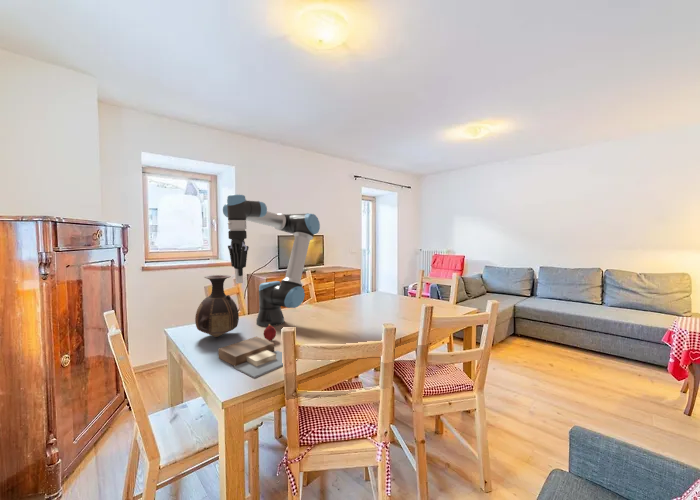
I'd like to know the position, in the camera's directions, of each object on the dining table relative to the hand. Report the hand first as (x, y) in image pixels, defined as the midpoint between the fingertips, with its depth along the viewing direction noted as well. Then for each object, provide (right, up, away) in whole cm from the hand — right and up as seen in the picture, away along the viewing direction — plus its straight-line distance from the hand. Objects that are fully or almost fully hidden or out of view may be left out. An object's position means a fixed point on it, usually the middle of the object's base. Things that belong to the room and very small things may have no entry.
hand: (239, 282), depth 137 cm
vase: (-15, -28, +14) cm, 35 cm away
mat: (+17, -30, -17) cm, 38 cm away
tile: (+14, -29, -15) cm, 36 cm away
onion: (+12, -28, +8) cm, 32 cm away
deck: (+6, -29, -9) cm, 31 cm away
